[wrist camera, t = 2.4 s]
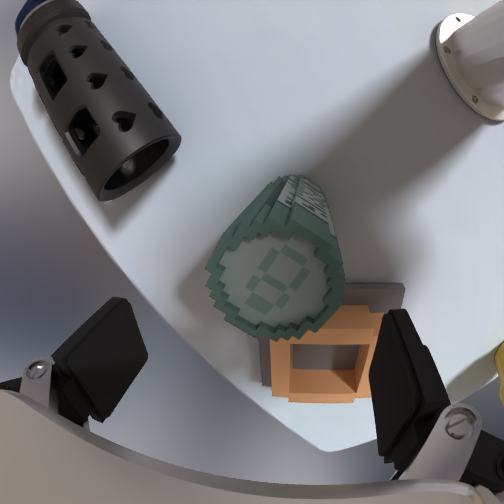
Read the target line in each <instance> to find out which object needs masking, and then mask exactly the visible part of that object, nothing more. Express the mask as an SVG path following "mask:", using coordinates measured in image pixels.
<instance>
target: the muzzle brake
mask: <svg viewBox="0 0 504 504" xmlns="http://www.w3.org/2000/svg"><path fill="white" fill-rule="evenodd" d="M17 47H18V51H19V53H20V56H21V59H22V61H23V63H24V65H26V66H27V67H28V70H29V73H30V75H31V77H32V79H33V82H34V84H35V87H36V89H37V91H38V93H39V95H40V97H41V99H42V101H43V103H44V105H45V107H46V110H47V112H48V114H49V116H50V118H51V120H52V122H53V124H54V126H55V128H56V129H57V131H58V133H59V134H60V136H61V137H62V140H63V143H64V144H65V146H66V148H67V150H68V151H69V153H70V155H71V157H72V158H73V160H74V162H75V164H76V165H77V167H78V168H79V170H80V171H81V173H82V174H83V175H84V176H85V178H86V181H87V183H88V185H89V186H90V188H91V189H92V191H93V193H94V194H95V196H96V197H97V199H98V200H99V201H110V200H113V199H115V198H117V197H120V196H122V195H123V194H125V193H127V192H129V191H130V190H132V189H133V188H135V187H136V186H138V185H139V184H141V183H142V182H144V181H145V180H146V179H147V178H149V177H150V176H151V175H153V174H154V173H155V172H156V171H157V170H158V169H159V168H160V167H162V166H163V165H164V164H165V163H166V162H167V161H168V160H169V159H170V158H171V157H172V156H173V154H174V153H175V152H176V151H177V149H178V148H179V146H180V143H181V136H180V135H179V133H178V132H177V131H176V129H175V128H174V127H173V125H172V124H171V123H170V121H169V120H168V119H167V117H166V116H165V115H164V114H163V112H162V111H161V110H160V108H159V107H158V106H157V104H156V103H155V102H154V100H153V99H152V98H151V97H150V95H149V94H148V93H147V91H146V90H145V89H144V87H143V86H142V85H141V84H140V82H139V81H138V80H137V78H136V77H135V76H134V75H133V73H132V72H131V71H130V69H129V68H128V67H127V66H126V64H125V63H124V62H123V60H122V59H121V58H120V57H119V55H118V54H117V53H116V52H115V50H114V49H113V48H112V46H111V45H110V44H109V43H108V41H107V40H106V39H105V38H104V36H103V35H102V34H101V33H100V31H99V30H98V29H97V27H96V26H95V25H94V24H93V23H92V22H91V18H90V16H89V14H88V12H87V11H86V10H85V9H84V7H83V6H82V5H81V4H80V3H79V2H78V1H76V0H48V1H45V2H43V3H41V4H40V5H38V6H37V7H35V8H34V9H33V10H32V11H31V12H30V13H29V14H28V15H27V16H26V18H25V19H24V21H23V23H22V25H21V28H20V32H19V35H18V38H17ZM96 125H97V126H98V127H96ZM80 138H82V139H80ZM128 159H130V165H129V167H128V168H123V166H122V164H123V163H125V162H126V161H127V160H128Z"/></svg>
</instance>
